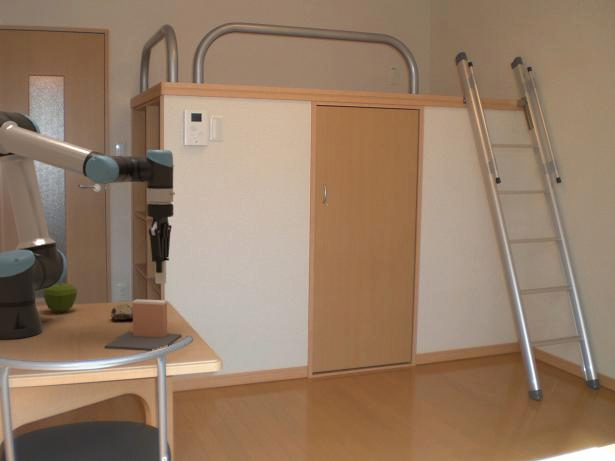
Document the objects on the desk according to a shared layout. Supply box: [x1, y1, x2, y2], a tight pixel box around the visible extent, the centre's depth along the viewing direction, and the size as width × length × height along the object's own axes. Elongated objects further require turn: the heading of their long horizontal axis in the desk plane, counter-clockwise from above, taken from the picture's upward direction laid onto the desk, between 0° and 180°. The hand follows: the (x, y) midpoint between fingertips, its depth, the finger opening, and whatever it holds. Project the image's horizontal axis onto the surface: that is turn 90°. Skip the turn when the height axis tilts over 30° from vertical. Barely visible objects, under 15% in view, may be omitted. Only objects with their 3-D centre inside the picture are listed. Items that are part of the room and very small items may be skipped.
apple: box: [42, 281, 78, 314], centre depth 229 cm, size 11×10×10 cm
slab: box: [132, 298, 168, 338], centre depth 197 cm, size 9×3×10 cm, turn 82°
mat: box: [104, 331, 182, 351], centre depth 193 cm, size 16×16×1 cm
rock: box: [109, 303, 133, 322], centre depth 221 cm, size 11×11×4 cm
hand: (160, 283), depth 204 cm, fingers closed
